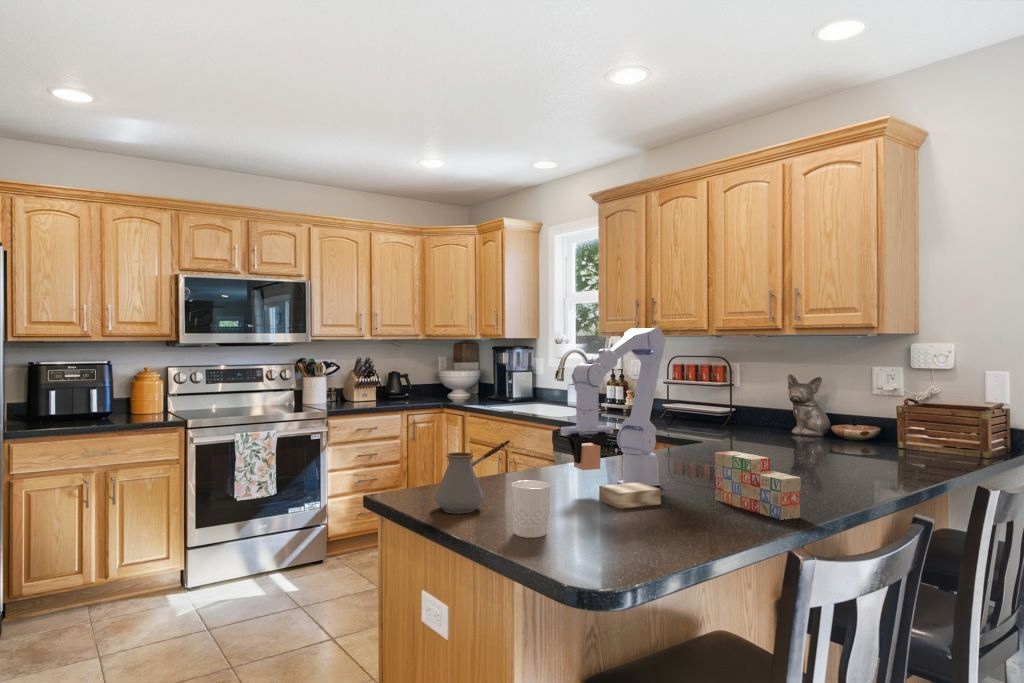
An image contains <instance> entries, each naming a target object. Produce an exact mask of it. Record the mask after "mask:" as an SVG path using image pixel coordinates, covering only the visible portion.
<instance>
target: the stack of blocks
mask: <svg viewBox="0 0 1024 683" xmlns="http://www.w3.org/2000/svg"><path fill="white" fill-rule="evenodd" d="M770 459H771V458H770V457H766V456H761V455H756V454H751V453H745V452H741V451H735V450H734V451H733V450H731V451H730V450H729V451H718V452H714V462H715V463H714V476H715V479H714V482H715V484H714V486H715V489H714V492H715V493H714V497H715V500H716V501H718V502H720V503H724V504H727V505H730V506H733V507H736V508H740V509H743V510H747V511H749V512H754V513H756V512H757V514H759V513H760V515H762V514H763V516H765V517H769V516H770V518H772V517H773V518H772V519H775V518H776V520H778V519H779V521H782V520H783V521H784V519H785V520H790V519H791V520H793V519H799V518H801V490H802V488H801V487H802V486H801V485H802V483H801V482H802V480H801V477H800V476H797V475H796V476H795V475H791V474H787V473H782V472H779V471H773V470H770V469H771V467H770V466H771V464H770V463H771V462H770V461H771V460H770ZM792 518H793V519H792Z"/></svg>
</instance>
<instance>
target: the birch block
mask: <svg viewBox="0 0 1024 683" xmlns="http://www.w3.org/2000/svg"><path fill="white" fill-rule="evenodd" d="M661 492H662V489H661V488H658V487H657V486H650V485H646V484H643V483H640V482H635V483H624V484H620V483H615V484H613V483H612V484H605V485H599V486H598V500H599V501H600V502H602V503H604V504H607V505H610V506H612V507H615V508H617V509H619V510H621V509H626V508H627V509H628V508H638V507H647V506H653V505H654V506H656V505H661V503H662V498H661V497H662V496H661V495H662V494H661Z"/></svg>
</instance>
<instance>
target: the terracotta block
mask: <svg viewBox="0 0 1024 683" xmlns="http://www.w3.org/2000/svg"><path fill="white" fill-rule="evenodd" d="M573 468H576V469H579V470H582V471H591V470H600V469H601V457H600V445H596V444H593V442H585V443H583V442H582V447H581V462H580V463H576V462H574V461H573Z"/></svg>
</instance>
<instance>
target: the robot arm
mask: <svg viewBox="0 0 1024 683" xmlns="http://www.w3.org/2000/svg"><path fill="white" fill-rule="evenodd" d="M665 345H666V338H665V335H664V333H663V331H662V329H660V328H659V327H652V328H648V327H647V328H634V327H633V328H629V329H628V330H627V331H625V332H624V333H623V337H622V338H620V339H619V340H618V341H617V342H616V343H615V344H614V345H613V346H611V347H610V348H600V349H598V350H597V354H595V355H594V356H592V357H590V358H588V359H586V360H587V361H586V362H584V363H579V364H577V365H576V366H575V367H574V369H573V371H572V373H571V379H572V382H573V385H574V390H575V392H576V405H575V406H576V410H575V411H576V422H575V423H576V424H575V425H572V426H561V427H560V435H561V436H564V437H565V438H566V440H567V442H568V444H569V446H570V448H571V453H572V456H573V463H574V462H576V463H580V462H581V447H582V443H583V441H584V438H583V437H582V436H581V435H591V443H593V444H596V445H600V458H601V457H602V453H603V451H604V448H605V445H606V443H607V442H608V439H609V434H614V426H613V425H611V424H609V425H607V424H606V425H604V424H603V425H601V424H600V425H599V399H600V398H599V393H600V392H599V389H600V388H599V387H600V386H601V385H602V383H603V382H604V378H605V377H606V375H607V374H608V373H610V372H611V371H612V370H613V369H614V368H616V367H617V366H618V364H619V363H618V360H619V359H621V358H622V357H623V356H625V355H627V354H628V353H629V352H631V354H632V355H633V356H634V357H635V358H636V359H637V360H638V361H640V368H639V373H638V378H637V382H636V387H635V392H634V397H633V402H632V407H631V411H630V415H629V417H627V418H626V419H625V420H623V421H622V423H621V427H620V429H619V431H618V432H617V435H616V443H617V445H618V447H619V448H620V452H622V480H621V479H620V480H616V484H624V483H635V482H640V483H643V484H646V485H650V486H653V487H657V486H658V487H659V486H661V483H659V472H660V470H659V466H660V465H659V464H660V463H659V459H658V456H657V454H656V453H654V452H653V451H654V450H655V448H656V443H657V439H656V432H657V427H656V426H655V424H653V423H652V421H651V420H650V418H651V414H652V410H653V404H654V399H655V394H656V389H657V384H658V379H659V374H660V369H661V364H662V359H663V355H664V349H665Z"/></svg>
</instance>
